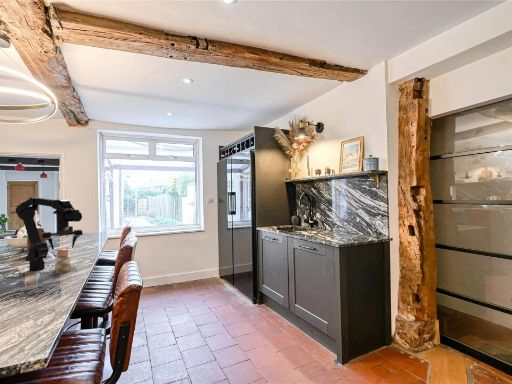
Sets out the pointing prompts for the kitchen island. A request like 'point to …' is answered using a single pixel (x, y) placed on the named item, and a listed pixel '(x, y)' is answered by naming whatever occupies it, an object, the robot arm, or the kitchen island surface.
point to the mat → (52, 272)
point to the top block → (63, 260)
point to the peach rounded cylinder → (62, 253)
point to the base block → (62, 268)
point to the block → (40, 231)
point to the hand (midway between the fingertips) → (62, 249)
